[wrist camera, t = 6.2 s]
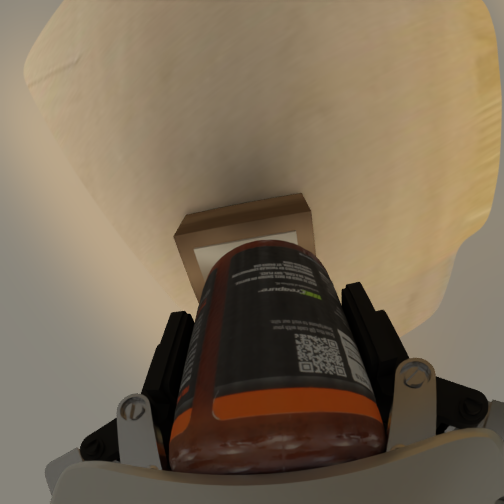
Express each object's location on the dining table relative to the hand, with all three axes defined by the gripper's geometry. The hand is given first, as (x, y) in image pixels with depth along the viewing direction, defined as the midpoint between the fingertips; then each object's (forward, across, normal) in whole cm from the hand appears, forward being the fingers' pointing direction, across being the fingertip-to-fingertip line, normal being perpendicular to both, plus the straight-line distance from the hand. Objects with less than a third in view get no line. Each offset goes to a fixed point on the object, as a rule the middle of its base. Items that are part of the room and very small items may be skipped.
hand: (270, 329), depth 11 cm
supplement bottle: (+3, 0, 0) cm, 3 cm away
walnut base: (+19, +2, +6) cm, 20 cm away
